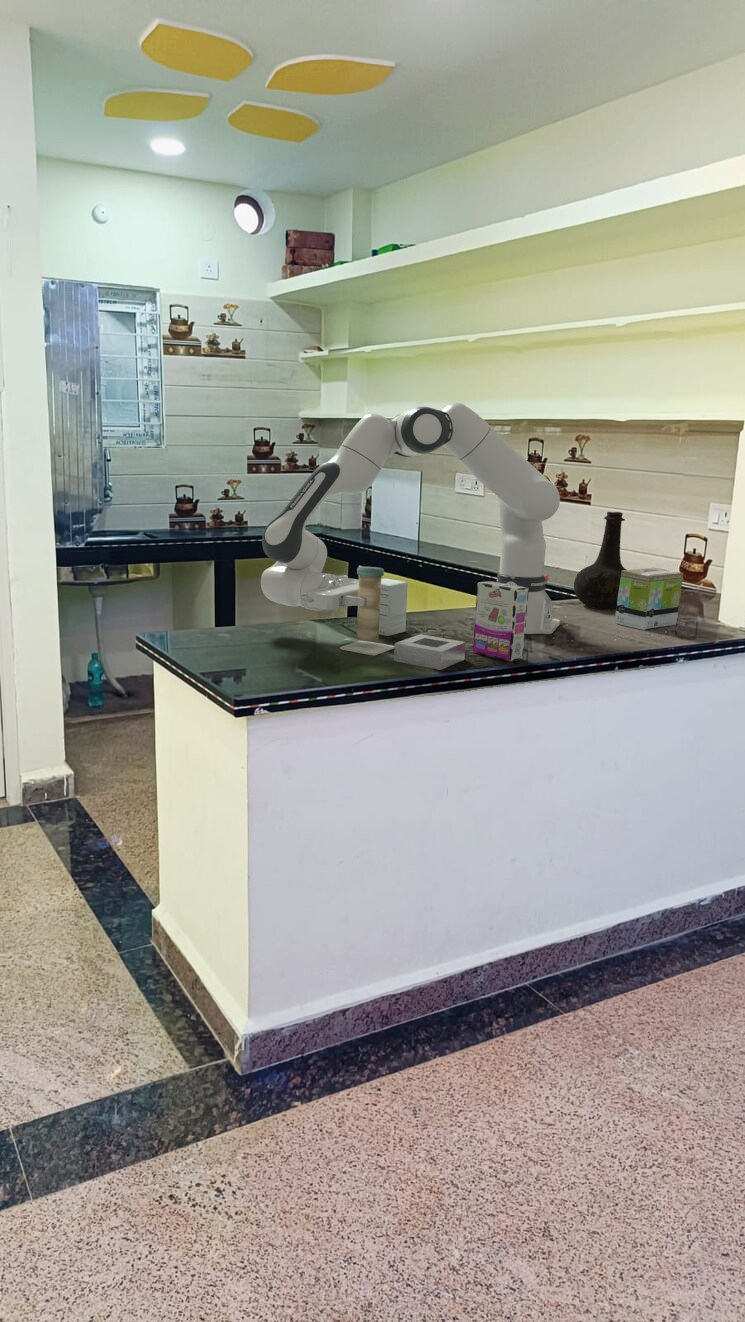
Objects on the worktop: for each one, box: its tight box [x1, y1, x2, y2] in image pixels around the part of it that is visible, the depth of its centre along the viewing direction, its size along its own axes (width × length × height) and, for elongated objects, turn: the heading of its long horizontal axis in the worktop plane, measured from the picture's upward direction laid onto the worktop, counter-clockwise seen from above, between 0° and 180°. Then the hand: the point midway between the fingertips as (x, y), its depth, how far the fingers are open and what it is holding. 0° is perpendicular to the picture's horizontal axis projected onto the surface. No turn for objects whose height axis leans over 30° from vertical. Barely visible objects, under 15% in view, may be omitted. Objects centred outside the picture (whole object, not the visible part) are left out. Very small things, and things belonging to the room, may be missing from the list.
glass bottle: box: [573, 511, 628, 611], centre depth 268 cm, size 18×18×28 cm
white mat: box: [340, 640, 395, 656], centre depth 210 cm, size 9×9×1 cm
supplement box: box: [379, 578, 409, 637], centre depth 226 cm, size 7×7×13 cm
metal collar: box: [393, 634, 466, 671], centre depth 202 cm, size 11×11×4 cm
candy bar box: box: [472, 580, 529, 663], centre depth 207 cm, size 11×5×16 cm, turn 45°
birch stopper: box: [356, 566, 385, 642], centre depth 207 cm, size 6×6×16 cm
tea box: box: [614, 567, 684, 631], centre depth 248 cm, size 15×10×15 cm, turn 129°
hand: (372, 600), depth 207 cm, fingers closed on birch stopper, 5 cm apart
